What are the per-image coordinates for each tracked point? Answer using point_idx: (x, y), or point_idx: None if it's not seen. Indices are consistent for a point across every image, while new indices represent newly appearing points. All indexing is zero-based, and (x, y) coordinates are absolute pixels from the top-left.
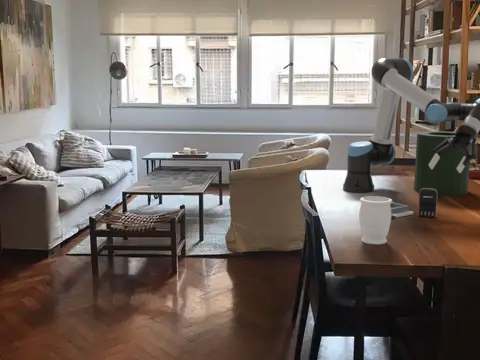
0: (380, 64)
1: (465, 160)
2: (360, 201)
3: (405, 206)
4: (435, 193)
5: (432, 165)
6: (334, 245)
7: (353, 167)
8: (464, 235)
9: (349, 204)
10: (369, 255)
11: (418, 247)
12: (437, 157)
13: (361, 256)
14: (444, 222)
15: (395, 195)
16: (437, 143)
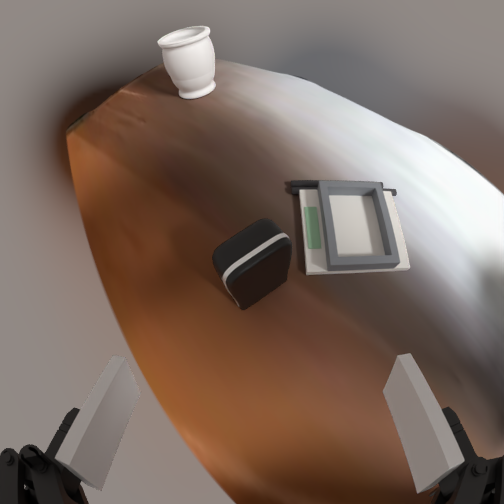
0: None
1: (68, 434)
2: (201, 28)
3: (328, 248)
4: (213, 253)
5: (396, 390)
6: (221, 61)
7: None
8: (100, 215)
9: (459, 215)
10: None
11: (135, 117)
12: (425, 463)
13: None
14: (180, 271)
15: (494, 406)
16: None
